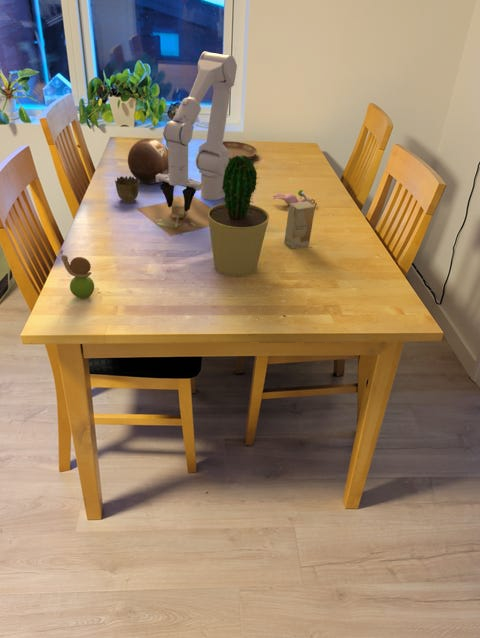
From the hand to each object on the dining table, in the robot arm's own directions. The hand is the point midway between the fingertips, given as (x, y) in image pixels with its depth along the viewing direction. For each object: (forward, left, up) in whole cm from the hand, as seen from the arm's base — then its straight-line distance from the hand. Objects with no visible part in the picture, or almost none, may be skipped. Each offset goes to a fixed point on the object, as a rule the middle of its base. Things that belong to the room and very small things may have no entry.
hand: (178, 208), depth 159 cm
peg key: (+2, +3, -2) cm, 4 cm away
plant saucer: (-49, -43, -4) cm, 65 cm away
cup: (+9, -17, -3) cm, 20 cm away
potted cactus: (+2, +34, -3) cm, 34 cm away
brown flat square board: (-1, +1, -3) cm, 4 cm away
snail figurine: (+42, +28, -3) cm, 51 cm away
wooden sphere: (-6, -31, -3) cm, 32 cm away
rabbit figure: (-39, +9, -3) cm, 40 cm away
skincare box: (-21, +32, -3) cm, 38 cm away
